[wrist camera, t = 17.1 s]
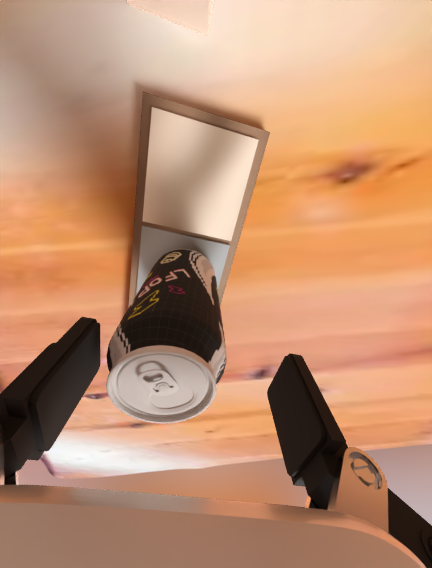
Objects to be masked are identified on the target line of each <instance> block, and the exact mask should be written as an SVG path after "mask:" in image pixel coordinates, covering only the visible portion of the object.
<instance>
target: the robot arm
mask: <svg viewBox="0 0 432 568" xmlns="http://www.w3.org/2000/svg"><path fill="white" fill-rule="evenodd" d="M99 367H100V323H97V321H96V319H92V318H86V317H81V318H80V319H79V320H78V321H77V322H76V323H75V324H74V325H73V326H72V327H71V328H70V329H69V330H68V331H67V332H66V333H65V334H64V336H63V337H62V338H61V339H60V340H59V341H58V342H57V343H52V344H50V345H49V346H48V347H47V348H46V349H45V350H44V351H43V352H42V353H41V354H40V355H39V356H38V357H37V358H36V359H35V360H34V361H33V362H32V363H31V364H30V365H29V366H28V367H27V368H26V369H25V370H24V371H23V372H22V373H21V374H20V375H19V376H18V377H17V378H16V379H15V380H14V381H13V382H12V383H11V384H10V385H9V386H8V387H7V388H6V389H5V390H4V391H3V392H2V393H1V394H0V568H432V526H431V525H430V524H429V523H428V522H427V521H426V520H424V519H423V518H422V517H421V516H420V515H419V514H417V513H416V512H415V511H414V510H413V509H412V508H411V507H409V506H408V505H407V504H406V503H405V502H404V501H402V500H401V499H400V498H399V497H398V496H397V495H395V494H394V493H393V492H392V491H391V490H390V489H389V488H388V487H387V481H386V479H385V476H384V474H383V472H382V471H381V469H380V467H379V466H378V465H377V463H376V462H375V461H374V460H373V459H372V458H371V457H370V456H369V455H368V454H366V453H365V452H363V451H362V450H360V449H358V448H355V447H349V448H348V446H347V444H346V440H345V438H344V436H343V434H342V433H341V431H340V429H339V427H338V425H337V423H336V421H335V419H334V417H333V415H332V413H331V411H330V409H329V407H328V405H327V403H326V402H325V400H324V398H323V396H322V394H321V392H320V390H319V388H318V386H317V384H316V382H315V380H314V378H313V376H312V374H311V372H310V371H309V369H308V367H307V365H306V363H305V361H304V359H303V357H302V356H301V355H296V354H289V355H288V356H285V357H284V359H283V361H282V363H281V365H280V367H279V369H278V371H277V373H276V375H275V377H274V379H273V381H272V382H271V384H270V386H269V388H268V392H267V395H268V400H269V404H270V408H271V411H272V415H273V419H274V423H275V427H276V431H277V435H278V439H279V442H280V446H281V450H282V454H283V458H284V462H285V466H286V469H287V473H288V474H289V475H290V476H291V477H292V481H293V485H296V486H305V487H306V490H307V493H308V496H307V499H306V503H305V507H296V506H288V505H276V504H266V503H254V502H244V501H233V500H221V499H210V498H198V497H186V496H175V495H162V494H151V493H138V492H125V491H113V490H112V491H111V490H100V489H88V488H73V487H57V486H56V487H55V486H40V485H19V483H18V482H19V481H18V470H20V469H21V468H22V466H23V465H24V463H25V462H26V461H27V459H29V460H39V459H40V457H41V455H42V454H43V452H44V451H48V450H49V449H50V448H51V447H52V445H53V444H54V442H55V441H56V439H57V437H58V436H59V434H60V432H61V431H62V429H63V427H64V426H65V424H66V423H67V421H68V419H69V418H70V416H71V414H72V413H73V411H74V409H75V408H76V406H77V404H78V403H79V401H80V400H81V398H82V396H83V395H84V393H85V391H86V390H87V388H88V386H89V385H90V383H91V381H92V380H93V378H94V377H95V375H96V373H97V372H98V370H99Z"/></svg>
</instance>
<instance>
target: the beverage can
mask: <svg viewBox="0 0 432 568" xmlns="http://www.w3.org/2000/svg"><path fill="white" fill-rule="evenodd" d="M225 364H226V346H225V339H224V332H223V325H222V317H221V310H220V303H219V296H218V289H217V281H216V275H215V271H214V268H213V266H212V264H211V263H210V262H209V260H208V259H207V258H206V257H204V256H203V255H202V254H200V253H198V252H196V251H193V250H190V249H175V250H172V251H169V252H167V253H165V254H164V255H162V256H161V257H160V258H159V259H158V260H157V261H156V263H155V264H154V266H153V268H152V270H151V271H150V273H149V275H148V276H147V278H146V280H145V281H144V283H143V285H142V287H141V288H140V290H139V292H138V293H137V295H136V297H135V298H134V300H133V302H132V303H131V305H130V307H129V309H128V310H127V312H126V314H125V315H124V317H123V319H122V320H121V322H120V324H119V326H118V327H117V329H116V331H115V332H114V334H113V336H112V338H111V340H110V343H109V346H108V352H107V365H108V369H109V372H110V373H109V375H108V379H107V384H106V386H107V393H108V395H109V397H110V399H111V401H112V402H113V403H114V405H115V406H116V407H117V408H119V409H120V410H121V411H122V412H124V413H126V414H127V415H129V416H131V417H134V418H136V419H139V420H142V421H146V422H152V423H176V422H180V421H184V420H187V419H190V418H193V417H195V416H197V415H199V414H200V413H202V412H203V411H204V410H206V409H207V407H208V406H209V405H210V404H211V403H212V401H213V399H214V397H215V393H216V384H217V383H218V382H219V380H220V378H221V376H222V375H223V373H224V369H225Z"/></svg>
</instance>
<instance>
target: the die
mask: <svg viewBox="0 0 432 568" xmlns="http://www.w3.org/2000/svg"><path fill="white" fill-rule="evenodd" d="M127 3H128V4H129V5H132V6H134V7H137V8H139V9H141V10H144V11H146V12H149V13H151V14H154V15H156V16H159V17H161V18H163V19H166V20H168V21H171V22H173V23H176V24H178V25H181V26H183V27H186V28H188V29H190V30H193V31H195V32H198V33H200V34H203V35H205V36H208V32H209V26H210V20H211V15H212V9H213V3H214V0H127Z"/></svg>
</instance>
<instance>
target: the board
mask: <svg viewBox="0 0 432 568" xmlns="http://www.w3.org/2000/svg"><path fill="white" fill-rule="evenodd" d="M269 134H270V132H268V131H265V130H262V129H259V128H255V127H252V126H249V125H246V124H243V123H240V122H237V121H233V120H230V119H227V118H224V117H221V116H218V115H215V114H212V113H208V112H205V111H202V110H199V109H196V108H193V107H190V106H186V105H183V104H180V103H177V102H174V101H171V100H168V99H164V98H161V97H158V96H155V95H152V94H149V93H146V92H143V100H142V115H141V130H140V145H139V160H138V174H137V189H136V204H135V219H134V234H133V248H132V263H131V278H130V293H129V307H130V305H131V303H132V302H133V300H134V298H135V297H136V295H137V293H138V292H139V290H140V288H141V287H142V285H143V283H144V281H145V280H146V278H147V276H148V275H149V273H150V271H151V270H152V268H153V266H154V264H155V263H156V261H157V260H158V259H159V258H160V257H161V256H162V255H164V254H165V253H167V252H169V251H172V250H175V249H190V250H193V251H196V252H198V253H200V254H202V255H203V256H204V257H206V258H207V259H208V260H209V262H210V263H211V264H212V266H213V268H214V271H215V275H216V281H217V289H218V296H219V303H220V304H221V301H222V297H223V294H224V290H225V287H226V283H227V280H228V276H229V273H230V269H231V266H232V262H233V259H234V255H235V252H236V249H237V245H238V242H239V238H240V235H241V231H242V228H243V224H244V221H245V217H246V214H247V210H248V207H249V203H250V200H251V196H252V193H253V189H254V186H255V183H256V179H257V176H258V172H259V169H260V165H261V162H262V158H263V155H264V151H265V148H266V144H267V141H268V137H269ZM128 309H129V308H128Z"/></svg>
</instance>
